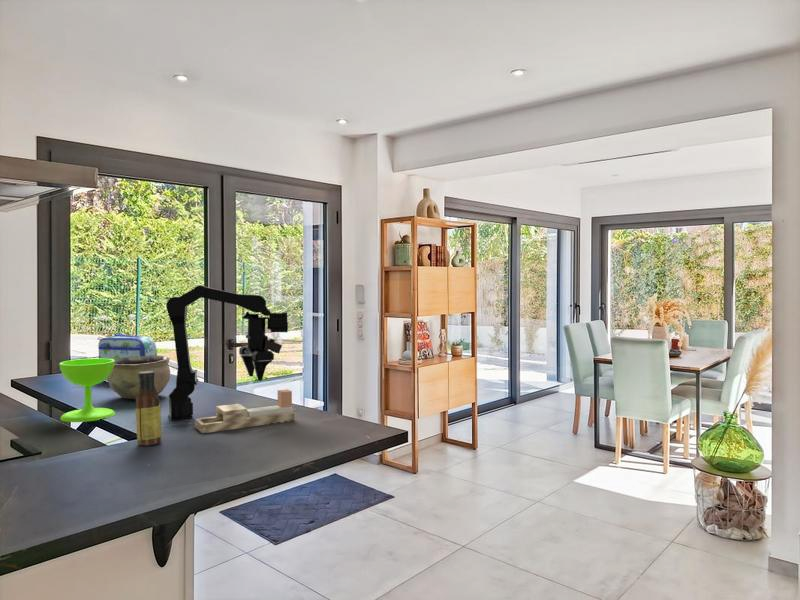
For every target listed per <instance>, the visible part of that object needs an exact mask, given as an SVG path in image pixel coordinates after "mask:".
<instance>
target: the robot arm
mask: <svg viewBox="0 0 800 600" xmlns="http://www.w3.org/2000/svg"><path fill="white" fill-rule="evenodd" d="M201 298H203V299H208V300H212V301H216V302H221V303H227V304H231V305H237V306H239V307H241V308H243V309H245V310H248V311H246V312H245V314H244V315H242V316H241V317H242V318H241V319H242V320H243V319H244V320H247V334H245V338H246V339H247V344H246V345H241V346H240V347H239V348H238V350H239V351H238V352H239V353H238V354H239V355H240V358H241V360H242V363H244V366H245V369H246V371H247V373H248V376H249V377H251V378H252V377H253V376H254V372H255V375H256V378H257V381H258V382H262V380H263V377H264V374H265V371H266V369H267V366H268V365H269V364H270V363H272V362H273V361H274V360H275V354H274V353H276V354H280V352H281V350H282V347H283V344H281V343H277V342H276V341H275V339H273V338H269V336H268V335H266V320H267V330H269V331H270V333H288V329H289V322H288V312H284V311H283V312H271V309H269V308H268V307H267V301H266V299H265V297H263V296H262V295H260V294H245V293H243V294H242V293H241V294H240V293H235V292H230V291H226V290H222V289H217V288H212V287H208V286H204V285H196V286H195V287H194V288H192V289H191V290H189V291H187V292H186V293H184V294H182V295H181V296H179V295H178V296H177V295H176V296H173V297H171V298H169V299H168V300H167V301H166V303H165V304H166V305H165V307H166V310H167V314H168V317H169V319H170V321H171V324H172V329H173V335H174V336H173V337H174V345H175V354H176V362H177V372H176V383H175V387H174V388H173V390H172V391H171V392H170V393H169V395H168V397H169V398H168V403H169V404H168V405H169V407H168V409H169V410H168V411H169V413H168V414H167V417H168V418H169V419H170V420H171V421H176V420H178V419H179V420H185V419H186V418H187V419H193V418H194V417H193V415H194V403H193V402H192V398H191V397H190V395H191V394H193V392H194V391H195V389H196V387H197V385H198V383H199V379H198V369H195V370H194V369H193V368H192V364H191V359H190V358H191V357H190V349H189V348H190V347H189V340H188V333H187V332H188V331H187V316H188V307H189V305H191V304H192V303H194V302H197V300H199V299H201ZM249 311H251V312H253V313H250V312H249ZM259 313H260V314H261V315H263V316H260V315H259Z"/></svg>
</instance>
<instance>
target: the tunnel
mask: <svg viewBox="0 0 800 600" xmlns="http://www.w3.org/2000/svg"><path fill="white" fill-rule="evenodd" d="M247 409H248V408H247V407H245V406H243V405H241V404H240V403H235V404H234V403H233V404H224V405H216V406H215V415H216V416H208V417H200V418H194V428H195V429H197V431H199V432H200V433H201V434H207V433H216V432H223V431H229V430H236V429H243V428H251V427H256V426H257V427H258V426H264V425H265V424H266V425H270V423H273V424H278V423H277V422H280V423H285V422H284V421H287V422H292V421H291V420H294V421H295V412H293V411H292V412H290V413H282V414H275V415H267V416H259V417H252V418H247Z"/></svg>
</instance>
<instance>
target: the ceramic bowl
mask: <svg viewBox="0 0 800 600" xmlns="http://www.w3.org/2000/svg"><path fill="white" fill-rule="evenodd" d="M170 359H171V357H170V356H167V358H165V356H164V355H159V354H157V355H150V356H139V357H123V358H117V359H114V360H115V363H114V368H113V370H112V372H111V374H110V375H109V376H108V382H107V383H108V386H109V387H110V388H111V389H112V391H113V392H114V393H116V395H117V394H118V395H119V396H120V397H122V398H124V399H126V400H127V399H128V400H130V399H131V400H136V396H137V394H138V392H139V390H140V387H139V386H140V379H139V372H144V371H154V373H155V376H154V385H155V388H156V391H157V394H158V395H160V394H161V393H162V392H163V391H164V389H165V388H166V387H167V385H168V384H169V382H170V379H171V369H170V365H169V363H170Z"/></svg>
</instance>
